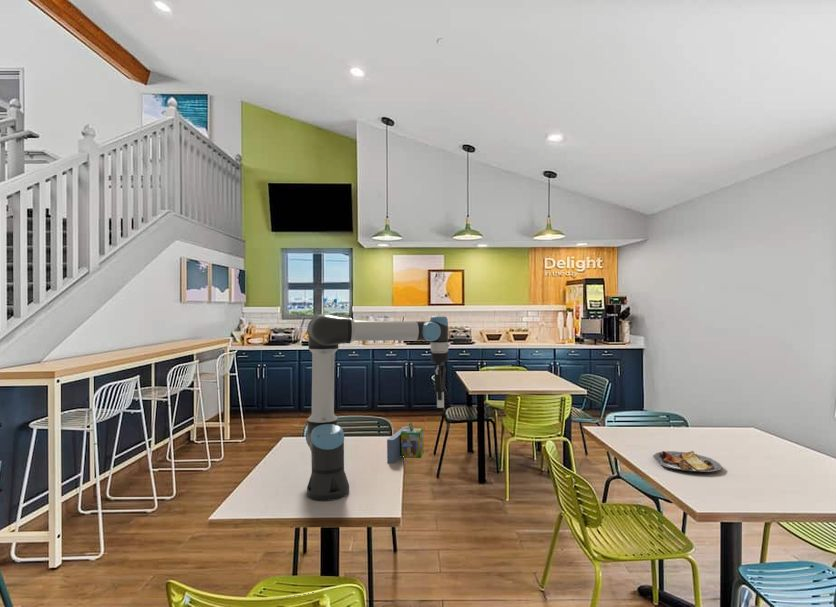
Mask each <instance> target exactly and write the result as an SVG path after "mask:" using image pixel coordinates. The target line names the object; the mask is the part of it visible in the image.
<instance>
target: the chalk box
mask: <svg viewBox="0 0 836 607" xmlns="http://www.w3.org/2000/svg"><path fill="white" fill-rule="evenodd" d="M408 425H409V426H408V427H410V428H404V429H403V430H402V432H401V457H400V458H401V459H402V458H403V456H404V458H403V459H422V457H423V455H424V452H425V450H424V449H425V446H424V445H425V444H424V442H425V441H424V428H420V427H419V428H417V427H413V426H414V425H413V422H412V421H410V422H409V424H408Z"/></svg>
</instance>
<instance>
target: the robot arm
mask: <svg viewBox="0 0 836 607" xmlns="http://www.w3.org/2000/svg"><path fill="white" fill-rule="evenodd" d="M306 332H307V336H308V350H309V351H310V352H311V354H312V356H311V360H312V361H311V363H312V364H311V367H312V368H311V414H310V416H309V417H307V430H306V431H305V432H306V433H305V441H306V443H307V446H308V447H309V450H310V452H311V457H310V458H311V472H310V473H311V474H310V478H309V479H308V483H307V487H306V497H307V498H309V499H310V500H312V501H313V500H314V501H318V502H319V501H321V502H323V501H324V502H326V501H327V502H328V501H334V500H338V499H341V498H344V497H346V496H348V494H349V493H350V483H349V480H348V477H347V475H346V472H345V433H344V429H343V428H342V427H341V426H340V425H338V423H339V422H338V419H339V418H338V416H337V415H336V414H335V353H336V352H337V351H338V350H339V345H343V344H351V343H353V341H354V342H359V341H360V342H361V341H365V342H367V341H368V342H369V341H370V342H372V341H374V342H375V341H377V342H378V341H381V342H382V341H387V342H388V341H389V342H390V341H392V342H393V341H396V342H397V341H402V342H403V341H404V342H405V341H409V342H410V341H417V342H418V341H419V342H420V341H422V342H423V341H425V342H430V352H431V353H430V360H431V362H433V363H435V366H434V369H433V374H434V375H433V376H434V387H435V391H434V392H435V393H436V408H437V409H438V408H439V409H441V408H442V409H444V408H445V392H447V390H446V371H447V368H446V365H445V363H446V362H448V361H449V360H450V359H449V358H450V357H449V353H448V352H449V347H450V344H449V321H448V317H447V316H445V315H444V316H443V315H442V316H440V315H439V316H437V315H436V316H431V317H430V320H427V321H422V320H421V321H419V320H418V321H414V320H413V321H410V320H409V321H403V320H401V321H397V320H354V319H352V318H351V317H341V316H336V315H331V314H318V315H316V316H314V317H313V318H311V320H310V321H309V323H308V325H307V329H306Z"/></svg>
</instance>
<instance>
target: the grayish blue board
mask: <svg viewBox="0 0 836 607" xmlns="http://www.w3.org/2000/svg"><path fill="white" fill-rule="evenodd" d="M404 428H410V427H409V426H403V427H401V428H400V429H398V431H396V432H394V434H392V435H391V436H389V437H388V438H386V456H387V457H386V459H387V464H388V463H389V464H395V463H396V462H397V461H398V460H399V459H400V458H401V432H402V430H403V429H404Z"/></svg>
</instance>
